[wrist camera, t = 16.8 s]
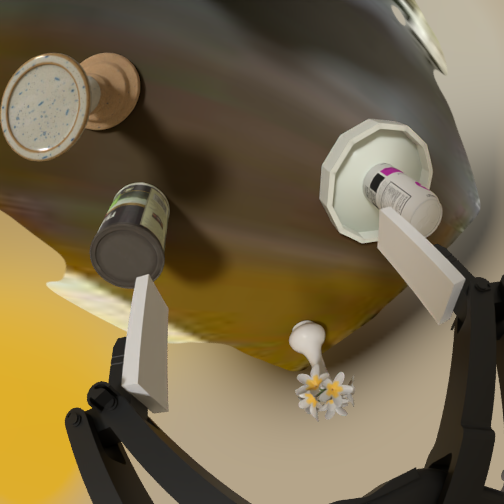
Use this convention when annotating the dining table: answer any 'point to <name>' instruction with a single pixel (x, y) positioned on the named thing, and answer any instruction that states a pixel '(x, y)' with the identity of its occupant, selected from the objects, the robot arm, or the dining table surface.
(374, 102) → the dining table surface
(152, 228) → the coffee can
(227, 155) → the dining table surface
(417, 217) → the supplement can
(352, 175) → the ceramic bowl
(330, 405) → the flower vase
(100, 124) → the candle holder
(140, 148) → the dining table surface
